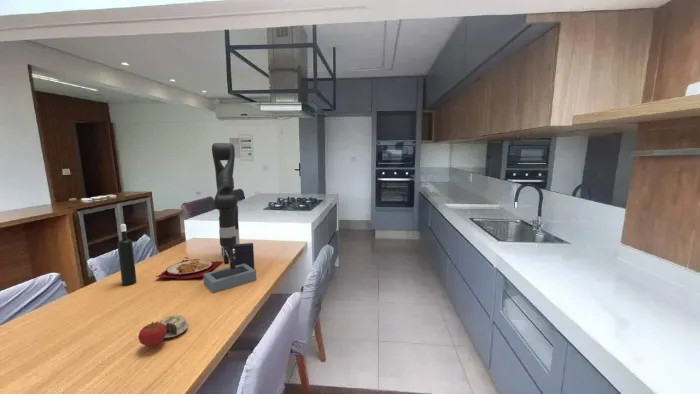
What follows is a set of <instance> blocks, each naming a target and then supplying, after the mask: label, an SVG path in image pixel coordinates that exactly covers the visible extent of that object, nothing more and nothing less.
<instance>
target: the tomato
mask: <svg viewBox="0 0 700 394" xmlns="http://www.w3.org/2000/svg"><path fill="white" fill-rule="evenodd" d="M166 332H167V329H166V327H165V325H164V324H162V323H160V321H155V322H154V321H153V320H152V321H151V323H148V324H146V325H145V326H143V327H142V329H141V330H140V331H139V333H138V341H139V343H140V344H141V345H143V346H146V347H153V346H156V345H158V344H160V343H161V342H162V341H164V339H165V338H164V337H165V336H166Z"/></svg>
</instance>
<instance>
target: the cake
mask: <svg viewBox="0 0 700 394" xmlns="http://www.w3.org/2000/svg"><path fill="white" fill-rule="evenodd" d="M159 322H160V323H162V324H164V325H165V327H166V329H167V332H166V336H165V337H164V339H165V338H172V337H175V336H179V335H180V334H183V332H185V331H186V330H187V329H188V327H189V323H188V322H187V321H186V318H185V316H184V315H181V314H174V315H173V314H172V315H169V316H167V317H164V318H163V319H161V320H160V321H159Z"/></svg>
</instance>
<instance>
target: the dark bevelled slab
mask: <svg viewBox="0 0 700 394" xmlns="http://www.w3.org/2000/svg"><path fill="white" fill-rule="evenodd" d="M233 248H234V249H236V254H237V261H235V266H236V265H240V264H244V263H245V264H247V265H248V266H250V267H251V268H253V269H254V270H255V252H254V243H253V242H248V243H247V242H246V243H240V244H235V245H233Z"/></svg>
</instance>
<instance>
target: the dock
mask: <svg viewBox="0 0 700 394" xmlns="http://www.w3.org/2000/svg"><path fill="white" fill-rule="evenodd" d="M255 281H257V270H256V269H255V268H254V269H253V268H251V267H250V266H248V265H247V264H245V263H244V264H240V265H236V266H235V269H232V270H231V269H230V266H229V267H225V268H222V269H217V270H213V271H212V270H211V271H209V272H208V273H204V274H203V284H204V285H205V286H206V287H207V288H208V289H209V290H210V291H211V293H213V294H214V293H218V292H221V291H224V290H225V291H226V290H229V289H231V288H235V287H238V286H241V285H245V284H248V283H251V282H255Z"/></svg>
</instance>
